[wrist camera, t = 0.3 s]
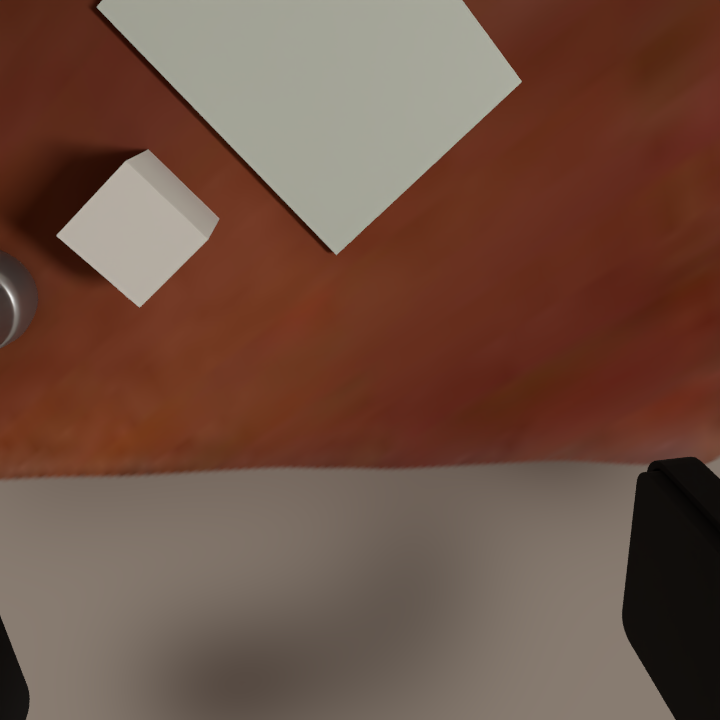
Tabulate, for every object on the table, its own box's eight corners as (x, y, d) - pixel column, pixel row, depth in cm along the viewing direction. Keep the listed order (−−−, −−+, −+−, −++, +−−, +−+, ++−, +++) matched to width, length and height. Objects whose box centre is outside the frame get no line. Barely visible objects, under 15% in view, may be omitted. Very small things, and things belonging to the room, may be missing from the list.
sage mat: (99, 8, 38) (96, 7, 37) (296, -222, 35) (296, -227, 34) (335, 252, 45) (336, 255, 44) (519, 81, 42) (521, 81, 41)
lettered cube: (84, 218, 43) (52, 239, 37) (148, 149, 41) (125, 160, 36) (156, 282, 45) (136, 311, 39) (219, 218, 43) (208, 239, 38)
